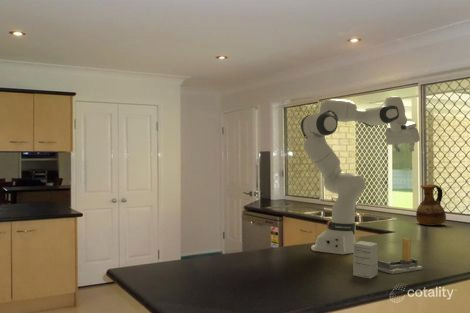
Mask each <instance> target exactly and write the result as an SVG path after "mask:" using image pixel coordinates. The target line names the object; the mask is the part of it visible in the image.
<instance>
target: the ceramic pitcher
mask: <svg viewBox="0 0 470 313" xmlns="http://www.w3.org/2000/svg"><path fill="white" fill-rule="evenodd" d="M420 187H421V189H423V192H424V193H423V194H424V199H423V200H422V201H421V202H420V204H419V205H418V206H417V209H416V213H415V215H416V216H415V217H416V221H417V222H418V223H420V224H421V225H424V226H425V225H426V226H435V225H442V224H444V223H446V220H447V216H446V211H445V209H444V207H443V206H442V205H441V202H442V199H443V193H444V192H443V190H442V188H441V186H438V185H437V184H422V185H420ZM435 188H436V190H437V197H436V199H435V198H434V190H435Z"/></svg>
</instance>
